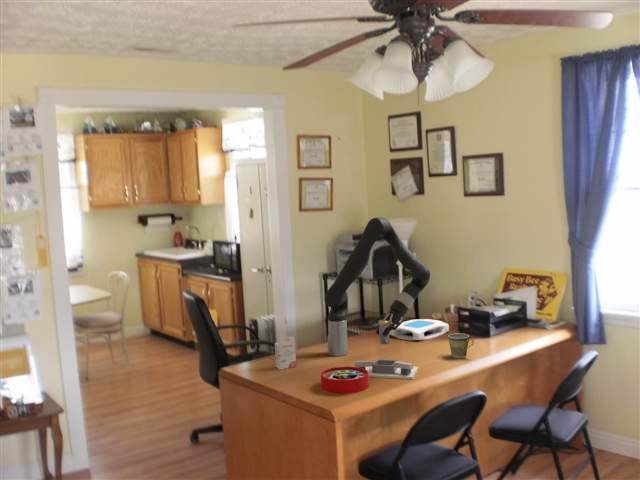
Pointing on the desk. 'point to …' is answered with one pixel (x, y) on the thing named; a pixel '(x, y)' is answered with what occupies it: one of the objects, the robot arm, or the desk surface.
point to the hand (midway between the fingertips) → (380, 334)
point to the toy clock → (344, 380)
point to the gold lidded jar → (382, 327)
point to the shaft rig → (388, 369)
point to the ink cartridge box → (285, 353)
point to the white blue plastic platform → (420, 329)
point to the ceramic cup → (459, 344)
